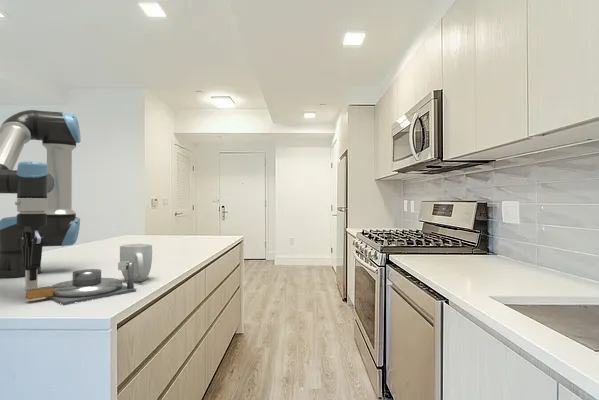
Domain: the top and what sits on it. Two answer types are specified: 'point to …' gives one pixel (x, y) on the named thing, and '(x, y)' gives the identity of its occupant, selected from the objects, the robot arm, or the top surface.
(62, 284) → the turntable
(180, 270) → the top surface
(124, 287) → the base plate
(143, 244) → the mug
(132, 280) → the post
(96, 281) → the dark grey bowl
